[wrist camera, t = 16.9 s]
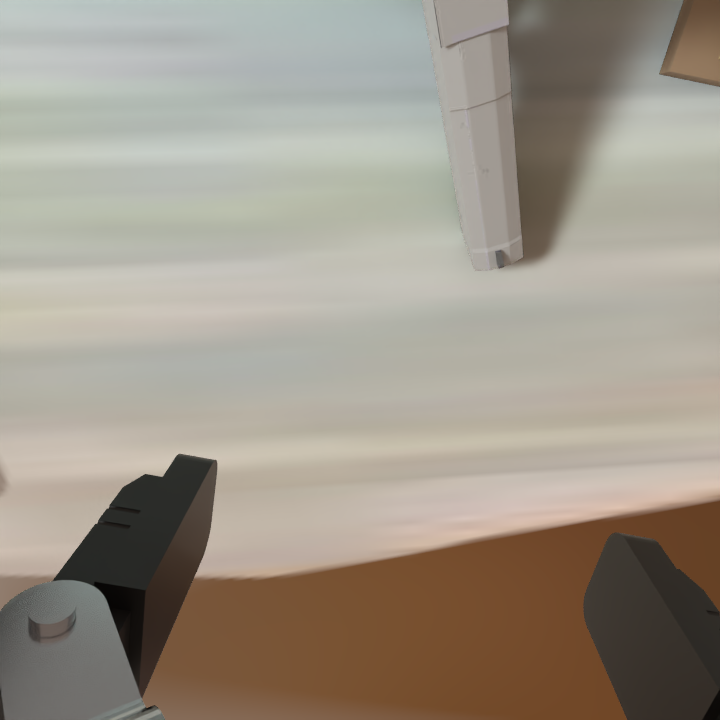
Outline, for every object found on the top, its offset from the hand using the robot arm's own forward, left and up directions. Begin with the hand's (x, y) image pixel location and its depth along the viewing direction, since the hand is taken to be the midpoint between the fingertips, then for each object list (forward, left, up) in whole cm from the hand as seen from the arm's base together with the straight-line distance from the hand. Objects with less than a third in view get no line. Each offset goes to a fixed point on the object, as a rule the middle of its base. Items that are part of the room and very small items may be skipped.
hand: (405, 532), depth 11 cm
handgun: (-7, +12, -33) cm, 36 cm away
